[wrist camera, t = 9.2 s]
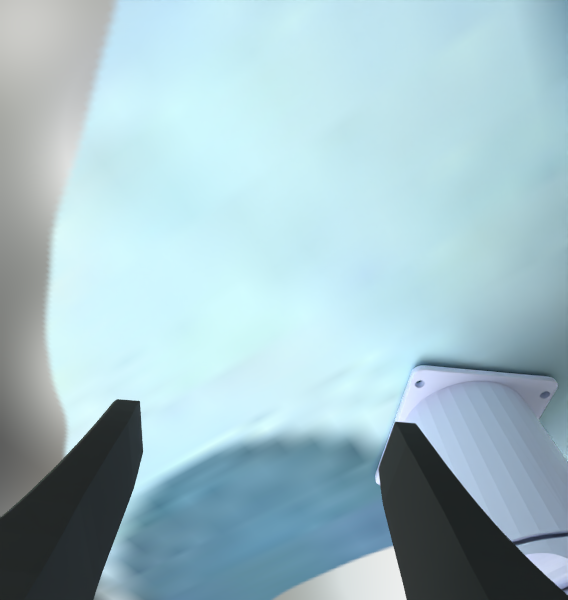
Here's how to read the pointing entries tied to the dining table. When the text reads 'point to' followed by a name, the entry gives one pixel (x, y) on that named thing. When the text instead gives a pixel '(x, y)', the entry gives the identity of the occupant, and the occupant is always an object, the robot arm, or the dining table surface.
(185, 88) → the dining table surface
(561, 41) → the dining table surface
